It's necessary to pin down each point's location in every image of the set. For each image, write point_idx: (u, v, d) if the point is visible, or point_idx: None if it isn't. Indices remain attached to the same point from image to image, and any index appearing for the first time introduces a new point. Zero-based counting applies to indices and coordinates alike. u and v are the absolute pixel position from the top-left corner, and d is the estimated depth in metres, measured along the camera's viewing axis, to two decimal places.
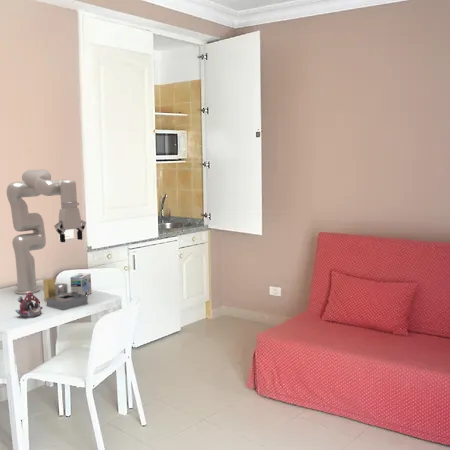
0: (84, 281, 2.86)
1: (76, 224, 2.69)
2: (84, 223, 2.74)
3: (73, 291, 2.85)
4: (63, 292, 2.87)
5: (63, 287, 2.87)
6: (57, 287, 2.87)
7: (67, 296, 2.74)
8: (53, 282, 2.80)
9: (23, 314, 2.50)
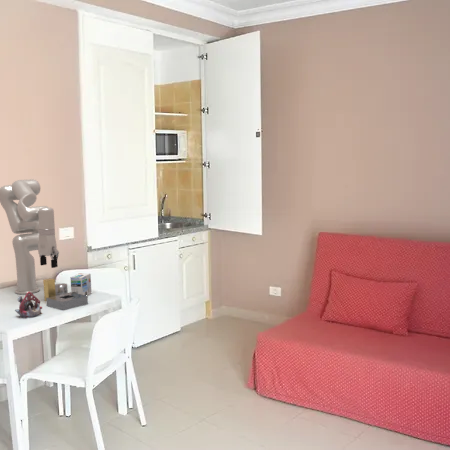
0: (84, 281, 2.86)
1: None
2: None
3: (73, 291, 2.85)
4: (63, 292, 2.87)
5: (63, 287, 2.87)
6: (57, 287, 2.87)
7: (67, 296, 2.74)
8: (53, 282, 2.80)
9: (22, 314, 2.50)
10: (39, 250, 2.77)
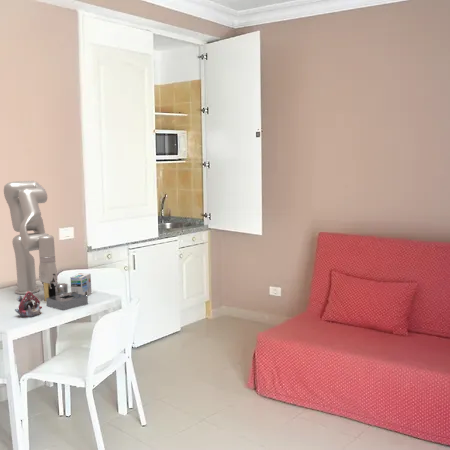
0: (84, 281, 2.86)
1: None
2: None
3: (73, 291, 2.85)
4: (63, 292, 2.87)
5: (63, 287, 2.87)
6: (57, 287, 2.87)
7: (67, 296, 2.74)
8: None
9: (22, 313, 2.51)
10: (40, 277, 2.80)
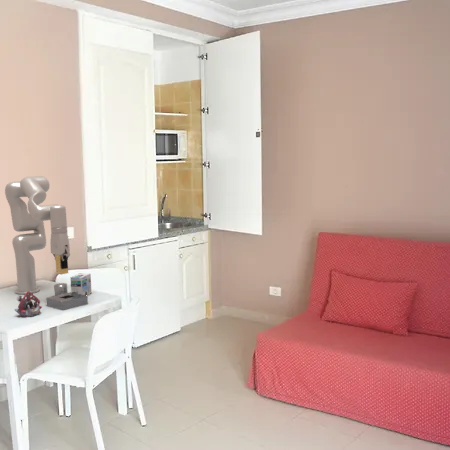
0: (84, 281, 2.86)
1: None
2: None
3: (73, 291, 2.85)
4: (63, 292, 2.87)
5: (62, 287, 2.87)
6: (56, 287, 2.87)
7: (67, 296, 2.74)
8: None
9: (21, 313, 2.52)
10: (51, 249, 2.70)
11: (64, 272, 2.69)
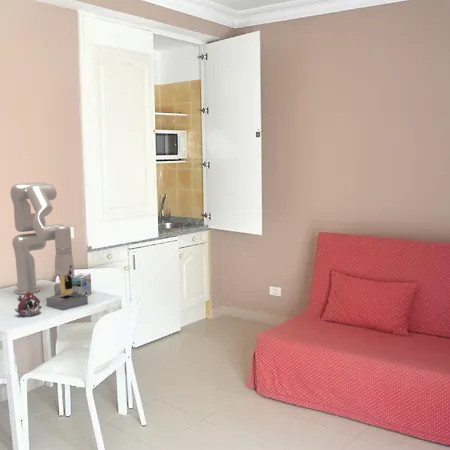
0: (84, 281, 2.86)
1: None
2: None
3: (73, 291, 2.85)
4: None
5: None
6: (56, 287, 2.87)
7: (67, 296, 2.74)
8: None
9: (21, 313, 2.52)
10: (56, 270, 2.69)
11: (68, 292, 2.69)
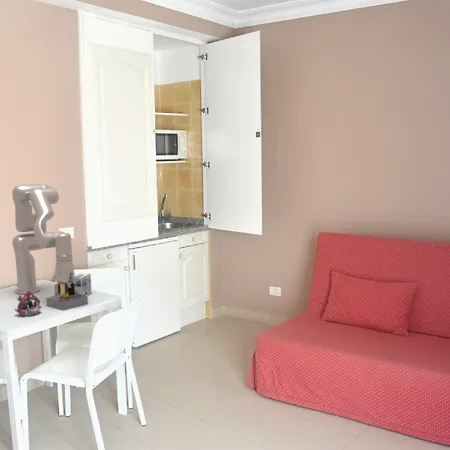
0: (84, 281, 2.86)
1: None
2: None
3: None
4: None
5: None
6: (56, 286, 2.87)
7: None
8: None
9: (21, 313, 2.52)
10: (56, 277, 2.70)
11: None
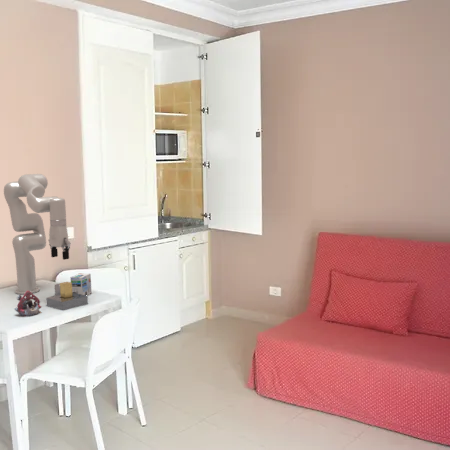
0: (84, 281, 2.86)
1: None
2: None
3: (73, 291, 2.85)
4: None
5: None
6: (56, 286, 2.87)
7: None
8: (70, 285, 2.70)
9: (21, 312, 2.53)
10: (50, 241, 2.71)
11: None
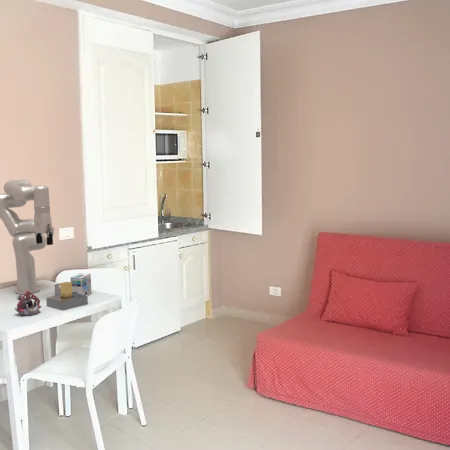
0: (84, 281, 2.86)
1: None
2: None
3: (73, 291, 2.85)
4: None
5: None
6: (55, 286, 2.88)
7: None
8: (70, 285, 2.70)
9: (20, 312, 2.53)
10: (35, 228, 2.82)
11: None
